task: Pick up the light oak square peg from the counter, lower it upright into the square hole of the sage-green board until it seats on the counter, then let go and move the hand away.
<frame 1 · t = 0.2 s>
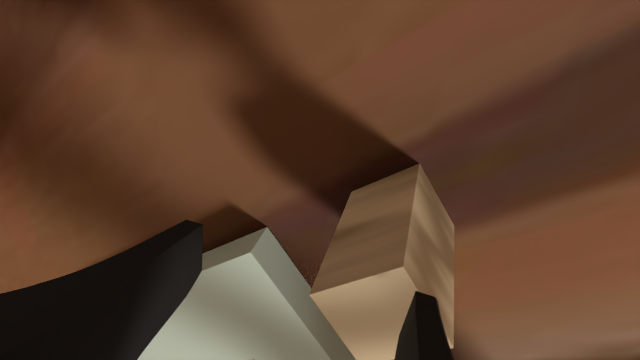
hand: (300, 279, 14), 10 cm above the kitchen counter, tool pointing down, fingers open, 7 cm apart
oak peg: (402, 208, 23), on the kitchen counter
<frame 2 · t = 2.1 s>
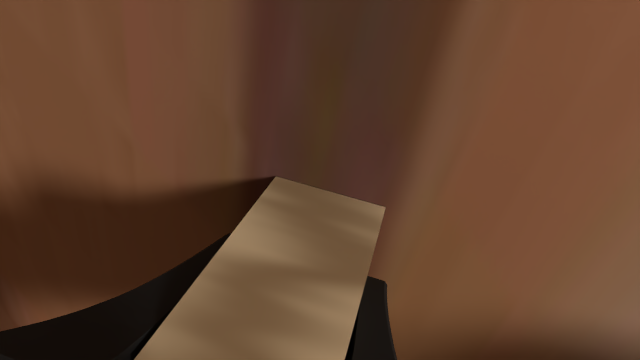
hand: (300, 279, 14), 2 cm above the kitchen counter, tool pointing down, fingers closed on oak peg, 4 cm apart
oak peg: (320, 236, 16), on the kitchen counter, touching gripper
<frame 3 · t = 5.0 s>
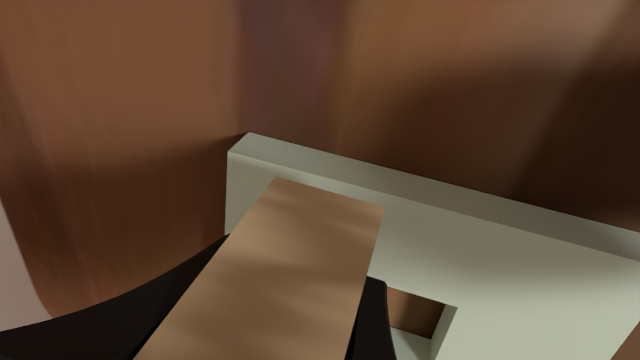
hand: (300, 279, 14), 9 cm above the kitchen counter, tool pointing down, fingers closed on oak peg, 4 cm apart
socket board: (398, 295, 25), on the kitchen counter
oak peg: (320, 235, 16), point 7 cm above the kitchen counter, touching gripper
when the fingers open (4 cm above the kitchen counter, at t = 8.0 s): oak peg drops 2 cm, resting in socket board.
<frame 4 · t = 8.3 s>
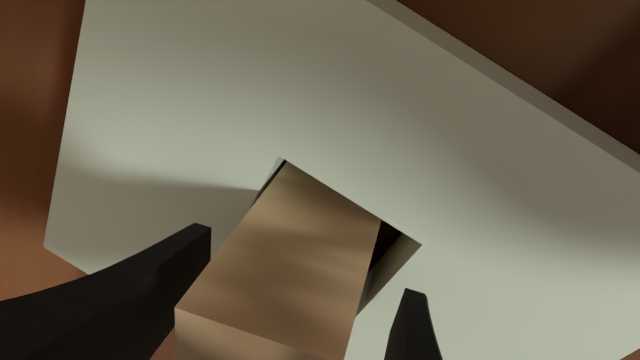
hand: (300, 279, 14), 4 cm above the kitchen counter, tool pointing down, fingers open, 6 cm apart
socket board: (330, 215, 17), on the kitchen counter
oak peg: (330, 214, 17), resting in socket board
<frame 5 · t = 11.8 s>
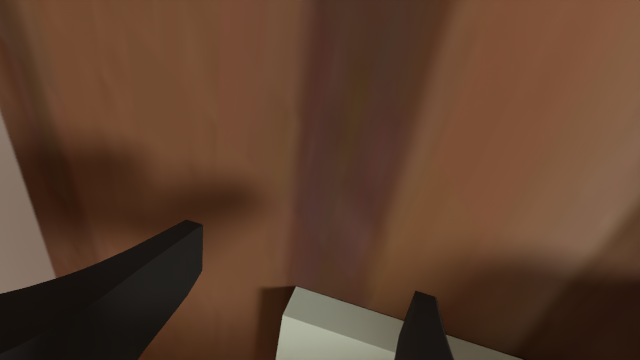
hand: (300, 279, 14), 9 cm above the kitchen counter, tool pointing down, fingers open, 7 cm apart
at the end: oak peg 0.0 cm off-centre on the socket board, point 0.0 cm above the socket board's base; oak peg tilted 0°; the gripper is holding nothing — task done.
